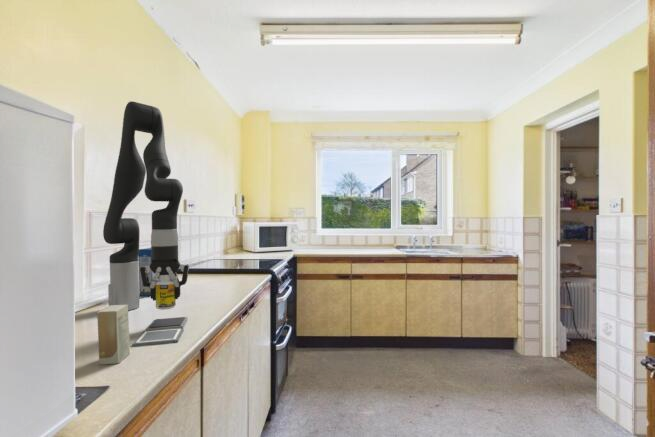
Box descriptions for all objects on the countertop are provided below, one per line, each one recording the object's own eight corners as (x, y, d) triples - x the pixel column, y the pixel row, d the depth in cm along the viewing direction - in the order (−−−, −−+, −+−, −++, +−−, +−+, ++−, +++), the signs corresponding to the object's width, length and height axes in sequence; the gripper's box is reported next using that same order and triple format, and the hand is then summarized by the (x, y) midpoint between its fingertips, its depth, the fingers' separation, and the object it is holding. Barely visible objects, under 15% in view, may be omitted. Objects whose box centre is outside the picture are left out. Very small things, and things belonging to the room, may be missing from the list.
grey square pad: (132, 346, 95) (132, 343, 95) (142, 334, 105) (142, 331, 105) (177, 342, 98) (177, 339, 98) (183, 330, 108) (183, 328, 107)
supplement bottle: (157, 311, 109) (156, 276, 109) (154, 307, 114) (153, 273, 113) (177, 308, 112) (176, 274, 112) (173, 304, 117) (173, 272, 116)
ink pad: (145, 332, 107) (145, 328, 107) (154, 322, 116) (153, 318, 116) (182, 329, 109) (182, 324, 109) (187, 320, 119) (187, 316, 119)
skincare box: (111, 354, 90) (110, 304, 90) (130, 353, 90) (129, 303, 90) (97, 365, 83) (96, 311, 83) (117, 364, 84) (116, 310, 84)
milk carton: (153, 291, 167) (152, 247, 167) (166, 291, 166) (165, 247, 166) (139, 296, 157) (138, 249, 157) (152, 296, 156) (151, 249, 156)
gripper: (191, 242, 117) (192, 295, 118) (142, 243, 114) (143, 297, 115) (188, 244, 110) (188, 301, 111) (135, 245, 107) (136, 303, 107)
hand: (165, 299), depth 113 cm, fingers closed on supplement bottle, 5 cm apart
